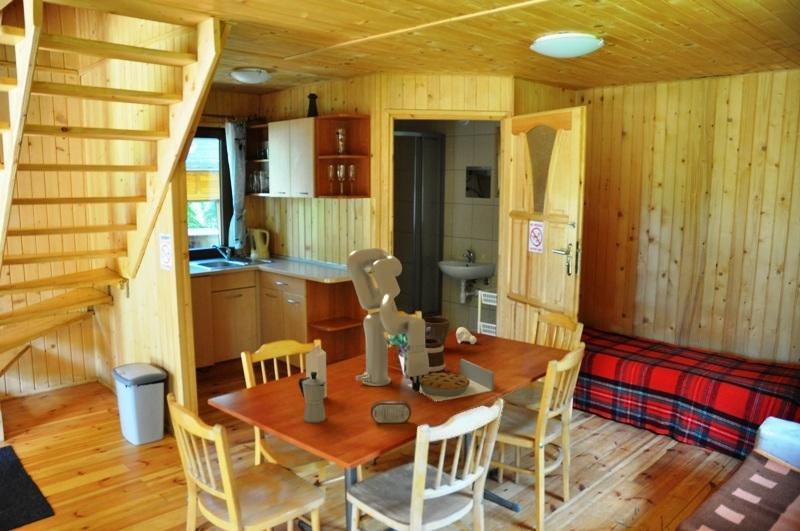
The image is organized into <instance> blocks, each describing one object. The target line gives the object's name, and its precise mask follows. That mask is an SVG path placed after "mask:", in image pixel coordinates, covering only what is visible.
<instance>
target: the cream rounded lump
mask: <svg viewBox="0 0 800 531" xmlns="http://www.w3.org/2000/svg"><path fill="white" fill-rule="evenodd" d="M455 336H456V337H455V338H456V340H457V342H458V344H461V343H462V342H463V341H464V342H469V343H470V345H475V343H476V342H477V337H476V336H474V335H472V334H471V332H470V331H469V330H468V329H467V328H466V327H463V326H461V327H458V328H457V329H456V333H455Z"/></svg>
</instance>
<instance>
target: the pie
mask: <svg viewBox="0 0 800 531" xmlns="http://www.w3.org/2000/svg"><path fill="white" fill-rule="evenodd" d="M469 384H470V382H469V379H467V377H465V376H464V377H463V376H461V375H460V373H457V374H455V373H454V372H449V373H446V372H443V373H432V374H430V375H429V374H428V375H427V376H425V377H423V378H422V380H421V382H420V386H421V387H422V390H423V392H425V393H427V394H431V395H435V396H444V397H449V396H457V395H460V394H462V393H464V392H465V390H466V388H467V387H468V386H469Z"/></svg>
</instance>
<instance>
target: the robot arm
mask: <svg viewBox="0 0 800 531" xmlns="http://www.w3.org/2000/svg"><path fill="white" fill-rule="evenodd" d="M370 268H371V272H372V275H373V278H374V280H375V283H376V286H377V287H376V286H375V284H374V280H373V278H372V276H371V275H370V273H368V271H366V269H370ZM346 270H347V272H348V275H349V277H350V279H351V281H352V284H353V286H354V289H355V292H356V295H357V298H358V301H359V305H360V307H361V308H362V310H365V311H375V310H379V311H375V312H371V313H369V314H367V315H365V317H364V319H363V324H362V325H363V330H364V336H365V371H364V372H363V373H362V374H361V375H360V374H359V375H355V380H356V381H362V383H363V384H364V385H366V386H370V387H371V386H372V387H381V386H382V387H383V386H387V385H389V384H391V381H392V380H391V377H389V376H388V340H387V338H386V337H385V333H387V335H389V336H392V337H395V336H399V335H403V334H406V346H404V350H405V353H404V361H403V373H404V376H403V377H404V379H406V380H410V381H411V384H412V390H413V392H416V393H417V392H418V391H420V382H421V380H422V378H423V377H425V376H427V375H428V373H429V359H428V353H427V351H426V350H425V321H424V320H423V319H424V318H421V317H415V316H413V315H410V314H404V315H400V314H399V312H398V309H397V306H396V302H395V300H394V299H395V298H396V297H397V296H398V295H399V294H400V292H401V289H400V285H399V284H398V281H397V279H396V277H398V276H400V275H401V273H402V271H403V266H402V263H401V261H400V260H399V259H398V258H397V257H395V256H394V255H392V254H391V253H389V252H387V251H385V250H384V249H382V248H379V247H373V248H362V249H356V250H354V251H352V252H351V253H349V255H348V257H347V260H346Z"/></svg>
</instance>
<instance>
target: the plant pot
mask: <svg viewBox="0 0 800 531" xmlns="http://www.w3.org/2000/svg"><path fill="white" fill-rule="evenodd" d="M422 319H423V320H424V321H425V329H426V327H431V331H430V334H429V337H428V338H427V339H437V340H440V341H441V342H442V345H443V346H445V344H446V341H447V338H448V333H449V328H450V323H451V320H450V318H447V317H442V316H441V317H440V316H439V317H438V316H431V317H424V318H422Z"/></svg>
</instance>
